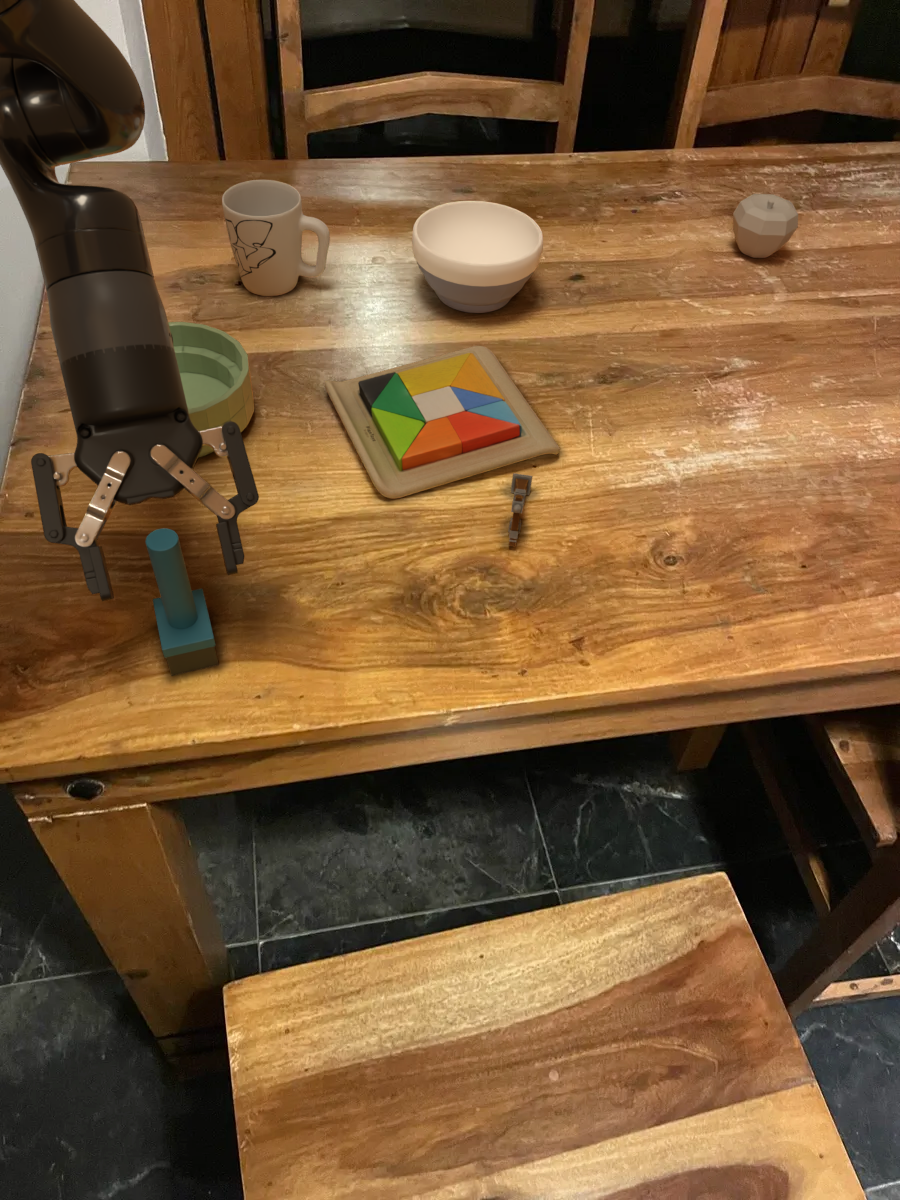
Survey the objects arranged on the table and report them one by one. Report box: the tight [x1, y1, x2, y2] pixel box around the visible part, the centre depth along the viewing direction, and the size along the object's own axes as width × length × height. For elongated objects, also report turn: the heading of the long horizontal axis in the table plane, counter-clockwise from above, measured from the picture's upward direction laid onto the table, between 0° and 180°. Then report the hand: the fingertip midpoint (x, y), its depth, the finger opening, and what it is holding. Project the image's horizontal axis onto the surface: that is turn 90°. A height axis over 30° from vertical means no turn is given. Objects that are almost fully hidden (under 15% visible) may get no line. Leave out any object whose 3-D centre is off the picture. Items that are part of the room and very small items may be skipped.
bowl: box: [411, 200, 544, 314], centre depth 105 cm, size 14×14×8 cm
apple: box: [732, 193, 799, 259], centre depth 115 cm, size 8×8×7 cm
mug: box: [221, 179, 331, 297], centre depth 104 cm, size 11×8×10 cm
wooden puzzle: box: [324, 345, 561, 499], centre depth 91 cm, size 18×19×4 cm
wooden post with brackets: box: [507, 472, 533, 547], centre depth 83 cm, size 2×8×4 cm, turn 171°
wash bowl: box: [168, 321, 255, 458], centre depth 89 cm, size 15×15×6 cm
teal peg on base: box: [145, 527, 220, 677], centre depth 68 cm, size 5×4×12 cm
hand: (171, 586), depth 65 cm, fingers open, 8 cm apart
